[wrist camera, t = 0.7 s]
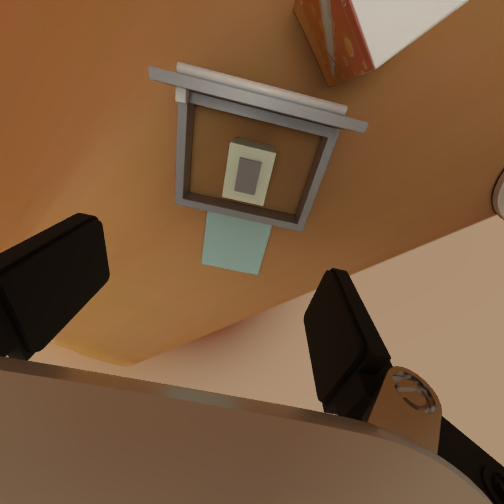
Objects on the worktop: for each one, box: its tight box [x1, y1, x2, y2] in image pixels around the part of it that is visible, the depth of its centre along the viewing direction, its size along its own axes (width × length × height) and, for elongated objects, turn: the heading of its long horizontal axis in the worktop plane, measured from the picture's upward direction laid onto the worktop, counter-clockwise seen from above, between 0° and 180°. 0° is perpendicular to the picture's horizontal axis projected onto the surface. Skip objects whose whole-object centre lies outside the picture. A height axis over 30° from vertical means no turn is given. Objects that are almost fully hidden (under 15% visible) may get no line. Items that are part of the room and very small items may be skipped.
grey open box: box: [149, 61, 369, 232], centre depth 26 cm, size 18×15×10 cm
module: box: [222, 137, 276, 206], centre depth 28 cm, size 5×6×6 cm
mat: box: [201, 211, 272, 275], centre depth 37 cm, size 10×10×1 cm
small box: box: [293, 0, 469, 87], centre depth 17 cm, size 8×6×13 cm
